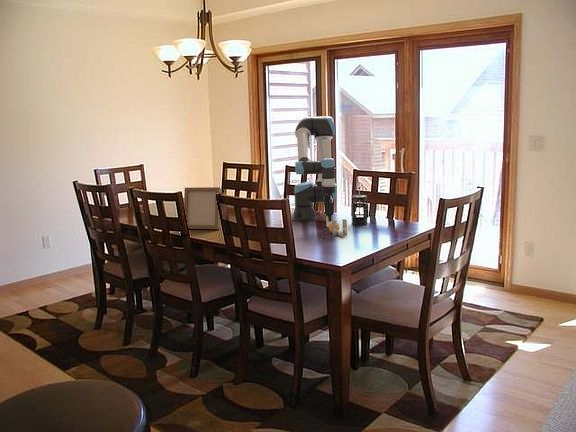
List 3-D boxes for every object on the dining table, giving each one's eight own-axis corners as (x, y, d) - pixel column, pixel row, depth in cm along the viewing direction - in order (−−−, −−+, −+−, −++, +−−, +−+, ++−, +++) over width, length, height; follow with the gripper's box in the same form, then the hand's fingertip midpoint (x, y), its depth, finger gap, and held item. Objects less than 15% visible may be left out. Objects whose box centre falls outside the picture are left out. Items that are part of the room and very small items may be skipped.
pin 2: (341, 234, 306) (341, 219, 304) (346, 234, 307) (345, 218, 305) (343, 235, 304) (343, 220, 302) (347, 234, 304) (347, 219, 303)
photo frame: (217, 230, 327) (215, 188, 323) (183, 230, 332) (180, 188, 328) (226, 225, 342) (224, 185, 337) (193, 225, 346) (190, 185, 342)
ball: (331, 227, 306) (330, 235, 310) (341, 226, 307) (340, 234, 311) (327, 220, 310) (326, 228, 314) (338, 219, 311) (336, 227, 315)
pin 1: (331, 235, 304) (331, 220, 303) (335, 235, 305) (335, 219, 303) (333, 236, 302) (333, 221, 300) (337, 235, 303) (337, 220, 301)
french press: (358, 226, 326) (357, 187, 322) (347, 224, 334) (347, 186, 330) (372, 223, 333) (372, 185, 329) (362, 221, 340) (361, 184, 336)
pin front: (334, 231, 306) (339, 234, 298) (337, 229, 306) (343, 232, 298) (336, 235, 307) (341, 238, 299) (339, 233, 307) (345, 236, 299)
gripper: (318, 184, 320) (319, 225, 324) (326, 187, 308) (327, 229, 312) (330, 184, 322) (331, 223, 326) (338, 186, 310) (339, 228, 314)
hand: (329, 226), depth 319 cm, fingers closed
